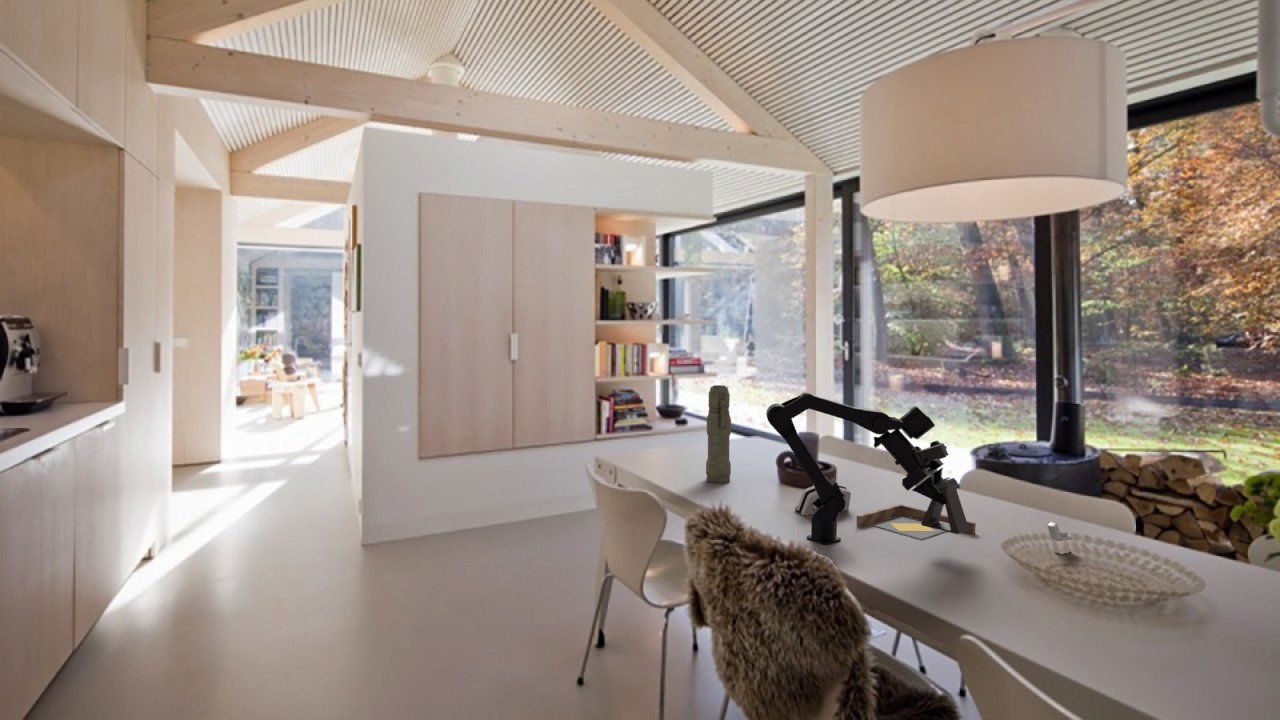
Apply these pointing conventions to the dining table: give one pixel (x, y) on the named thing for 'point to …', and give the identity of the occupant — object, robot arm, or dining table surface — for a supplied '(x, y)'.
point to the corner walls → (904, 511)
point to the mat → (910, 528)
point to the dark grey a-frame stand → (952, 507)
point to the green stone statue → (718, 435)
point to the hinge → (811, 496)
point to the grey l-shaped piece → (1058, 533)
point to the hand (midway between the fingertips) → (948, 501)
